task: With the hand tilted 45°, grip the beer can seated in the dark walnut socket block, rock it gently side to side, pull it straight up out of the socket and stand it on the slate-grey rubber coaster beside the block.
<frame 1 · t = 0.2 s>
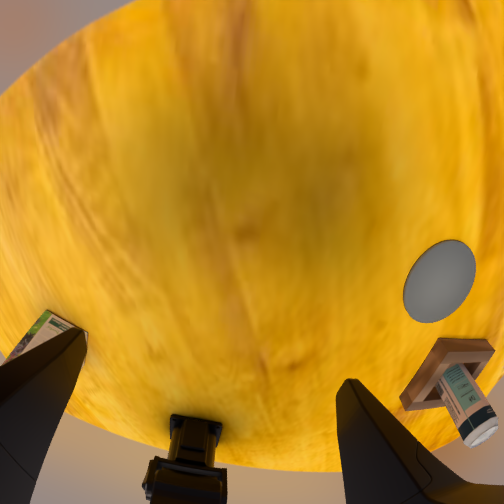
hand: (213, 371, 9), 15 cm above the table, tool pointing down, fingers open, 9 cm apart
syrup box: (66, 337, 27), on the table
socket block: (445, 369, 30), on the table
beer can: (444, 368, 30), resting in socket block
coaster: (441, 282, 25), on the table
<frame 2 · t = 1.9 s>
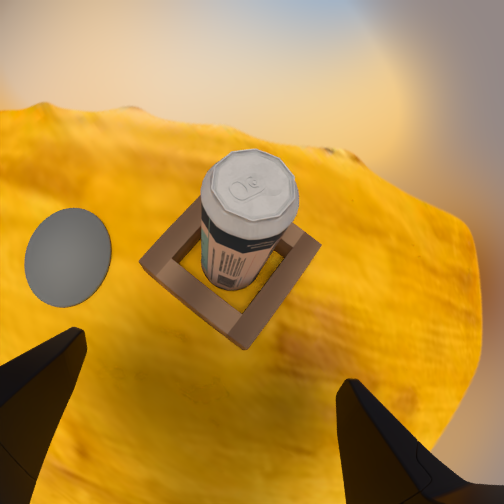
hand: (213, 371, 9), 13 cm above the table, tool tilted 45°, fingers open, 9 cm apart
socket block: (230, 262, 24), on the table
beer can: (230, 263, 25), resting in socket block
coaster: (65, 256, 22), on the table
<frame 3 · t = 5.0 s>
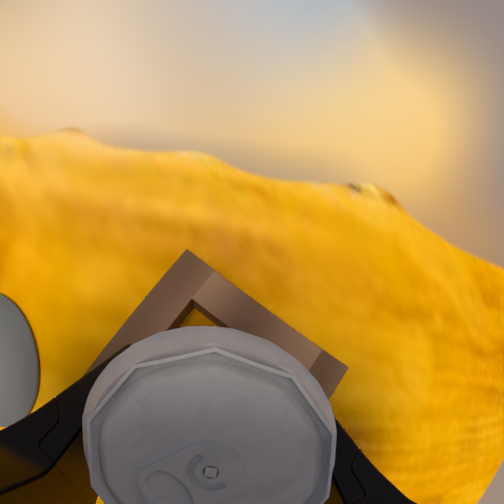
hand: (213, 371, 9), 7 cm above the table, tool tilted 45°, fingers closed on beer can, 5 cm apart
socket block: (205, 389, 14), on the table
beer can: (205, 389, 15), resting in socket block, touching gripper
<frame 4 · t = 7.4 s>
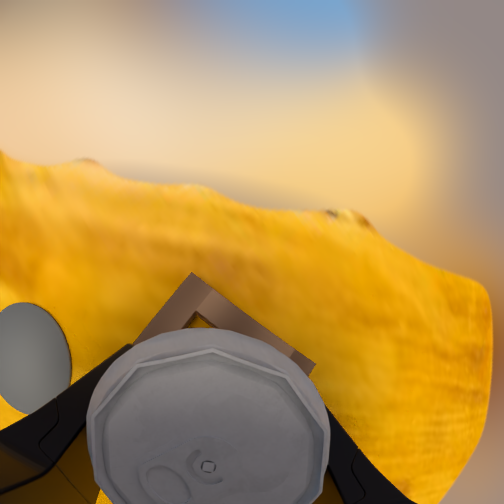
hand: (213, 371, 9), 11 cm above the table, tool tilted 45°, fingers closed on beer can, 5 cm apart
socket block: (206, 379, 19), on the table
beer can: (206, 390, 15), point 4 cm above the table, touching gripper
coaster: (25, 359, 17), on the table
when the fingers open (8 cm above the table, at t = 10.3 s): beer can stays where it is, resting on coaster.
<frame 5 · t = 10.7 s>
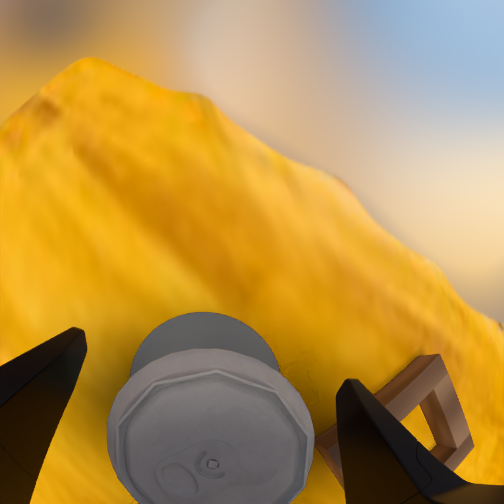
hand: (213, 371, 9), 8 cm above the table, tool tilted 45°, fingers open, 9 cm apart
socket block: (396, 445, 16), on the table
beer can: (204, 391, 16), resting on coaster
coaster: (205, 386, 16), on the table
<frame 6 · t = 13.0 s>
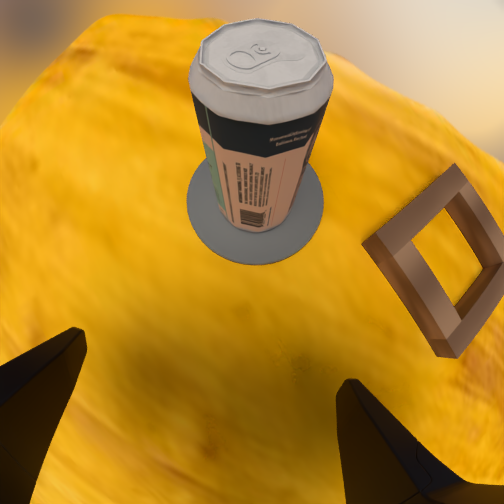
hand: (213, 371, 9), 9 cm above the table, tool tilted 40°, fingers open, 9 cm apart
socket block: (444, 260, 19), on the table
beer can: (255, 200, 19), resting on coaster
coaster: (255, 198, 20), on the table
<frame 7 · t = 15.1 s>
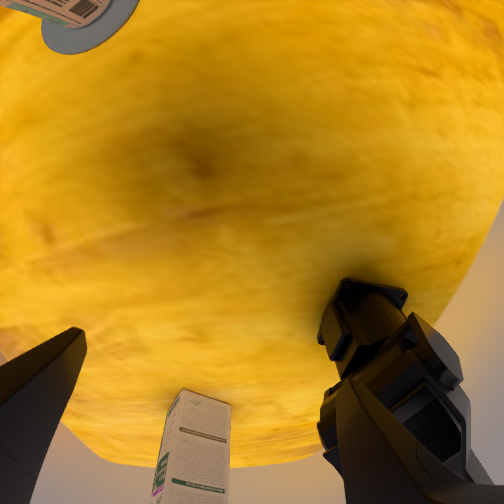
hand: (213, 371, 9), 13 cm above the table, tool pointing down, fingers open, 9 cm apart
syrup box: (199, 407, 29), on the table
beer can: (89, 4, 13), resting on coaster
coaster: (88, 3, 13), on the table
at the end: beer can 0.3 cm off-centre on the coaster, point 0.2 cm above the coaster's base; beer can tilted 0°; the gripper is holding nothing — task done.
